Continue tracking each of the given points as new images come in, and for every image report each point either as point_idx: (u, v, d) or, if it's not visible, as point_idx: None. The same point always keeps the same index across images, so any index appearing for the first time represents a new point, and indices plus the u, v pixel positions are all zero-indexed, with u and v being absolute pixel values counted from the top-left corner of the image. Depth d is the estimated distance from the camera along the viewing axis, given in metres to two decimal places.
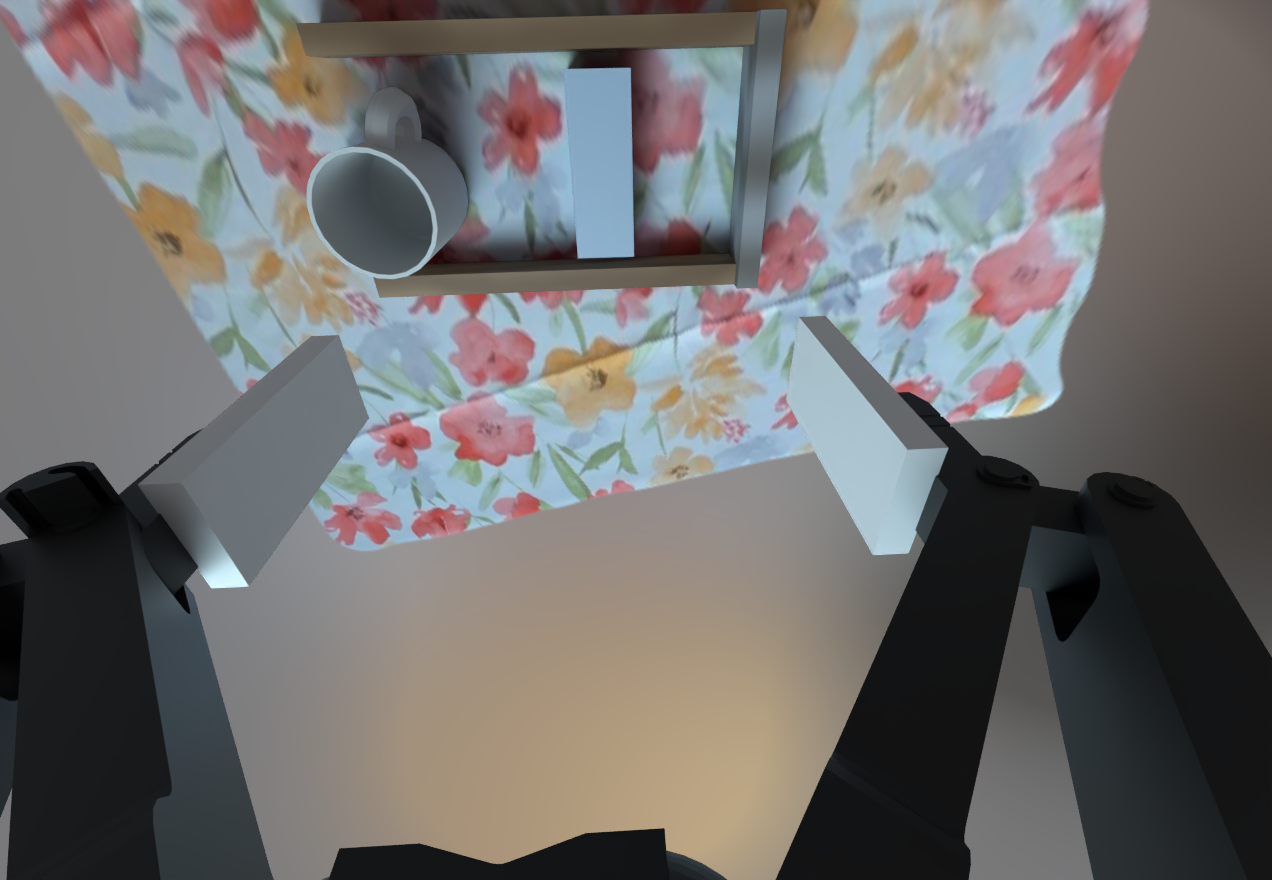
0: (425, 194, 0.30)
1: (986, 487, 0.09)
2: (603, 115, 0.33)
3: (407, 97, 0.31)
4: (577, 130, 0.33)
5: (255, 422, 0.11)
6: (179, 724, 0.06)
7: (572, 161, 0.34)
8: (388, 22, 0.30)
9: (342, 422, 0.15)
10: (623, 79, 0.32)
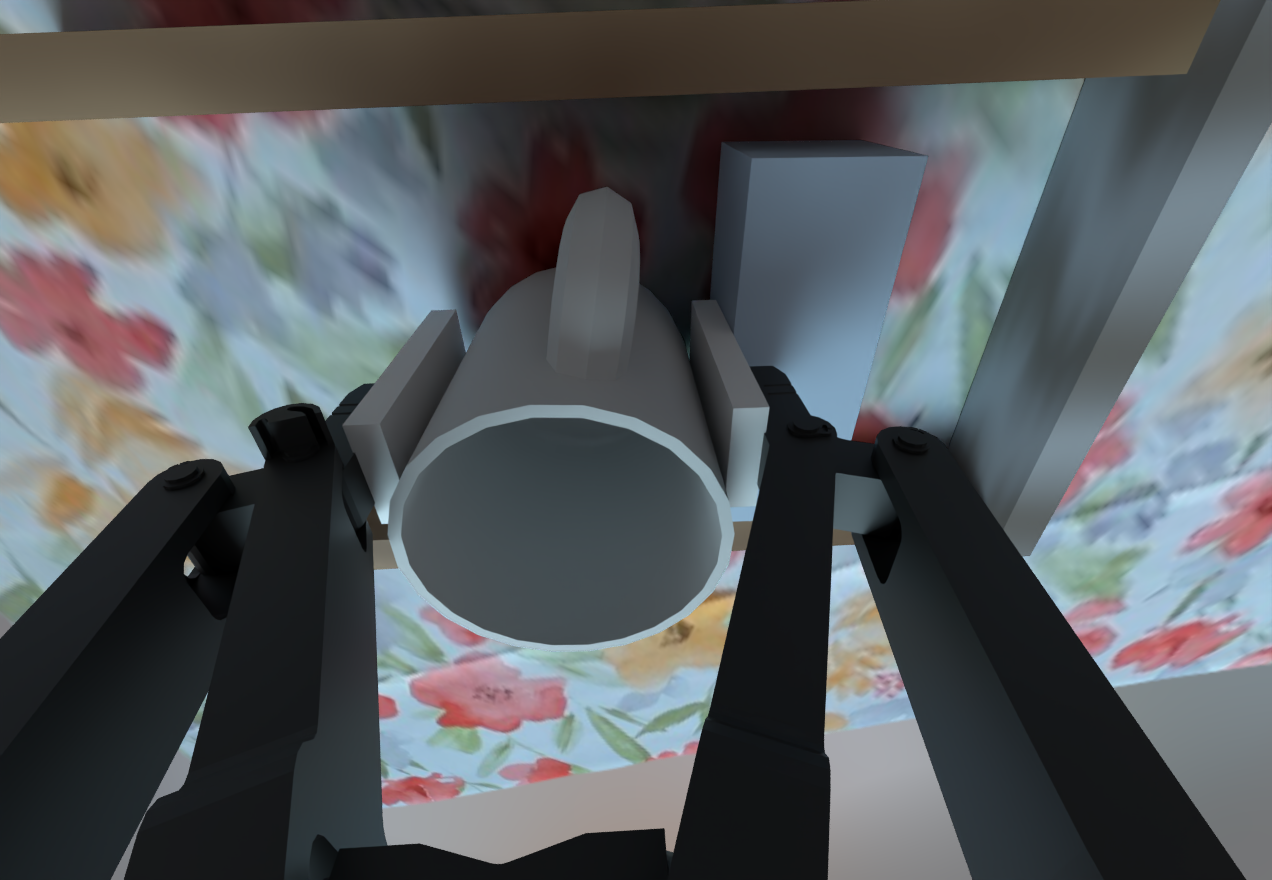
0: (720, 499, 0.11)
1: (797, 441, 0.10)
2: (829, 264, 0.13)
3: None
4: (759, 295, 0.13)
5: (414, 379, 0.13)
6: (336, 664, 0.07)
7: None
8: (196, 30, 0.11)
9: None
10: (901, 184, 0.12)
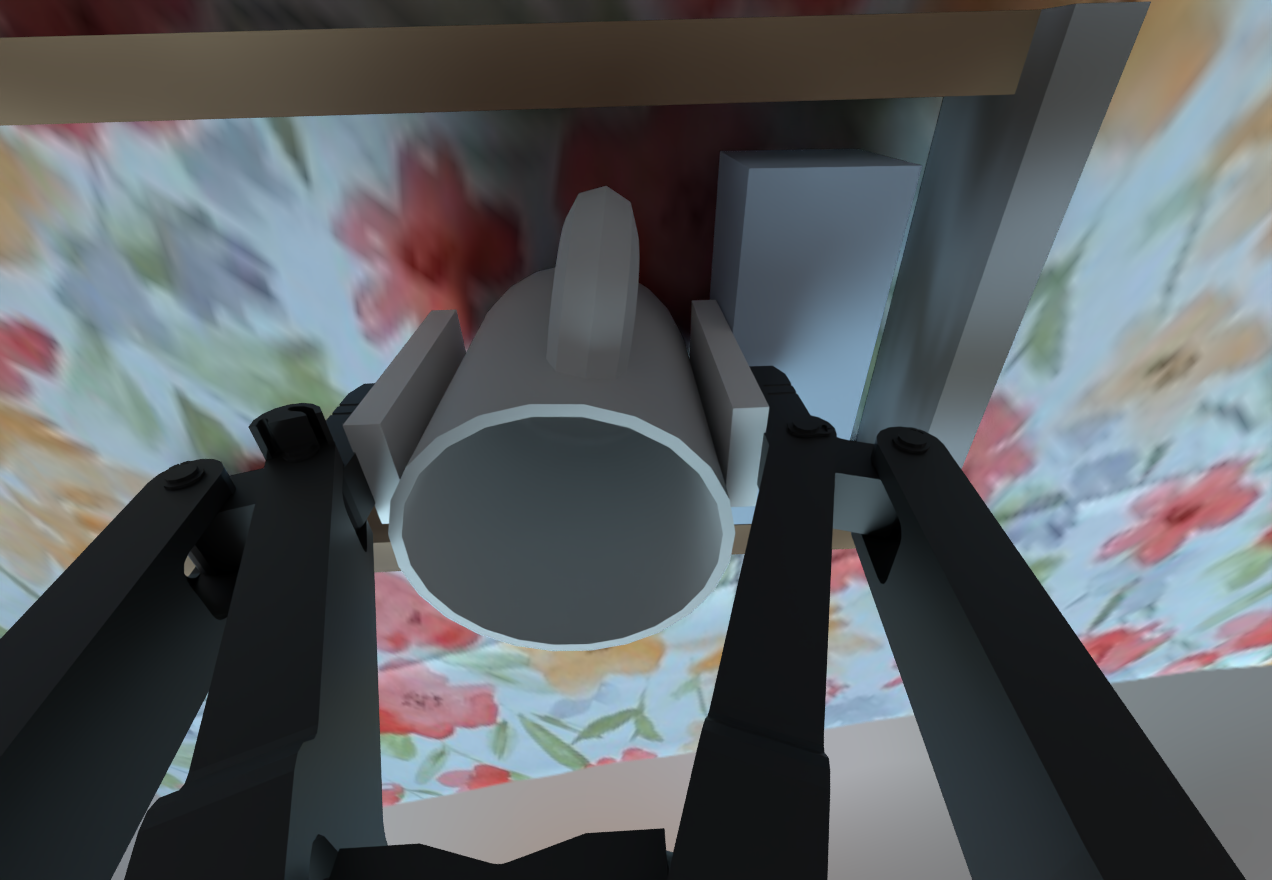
0: (721, 498, 0.11)
1: (796, 441, 0.10)
2: (825, 271, 0.13)
3: None
4: (757, 302, 0.14)
5: (415, 379, 0.13)
6: (337, 664, 0.07)
7: None
8: (13, 41, 0.11)
9: None
10: (896, 193, 0.12)
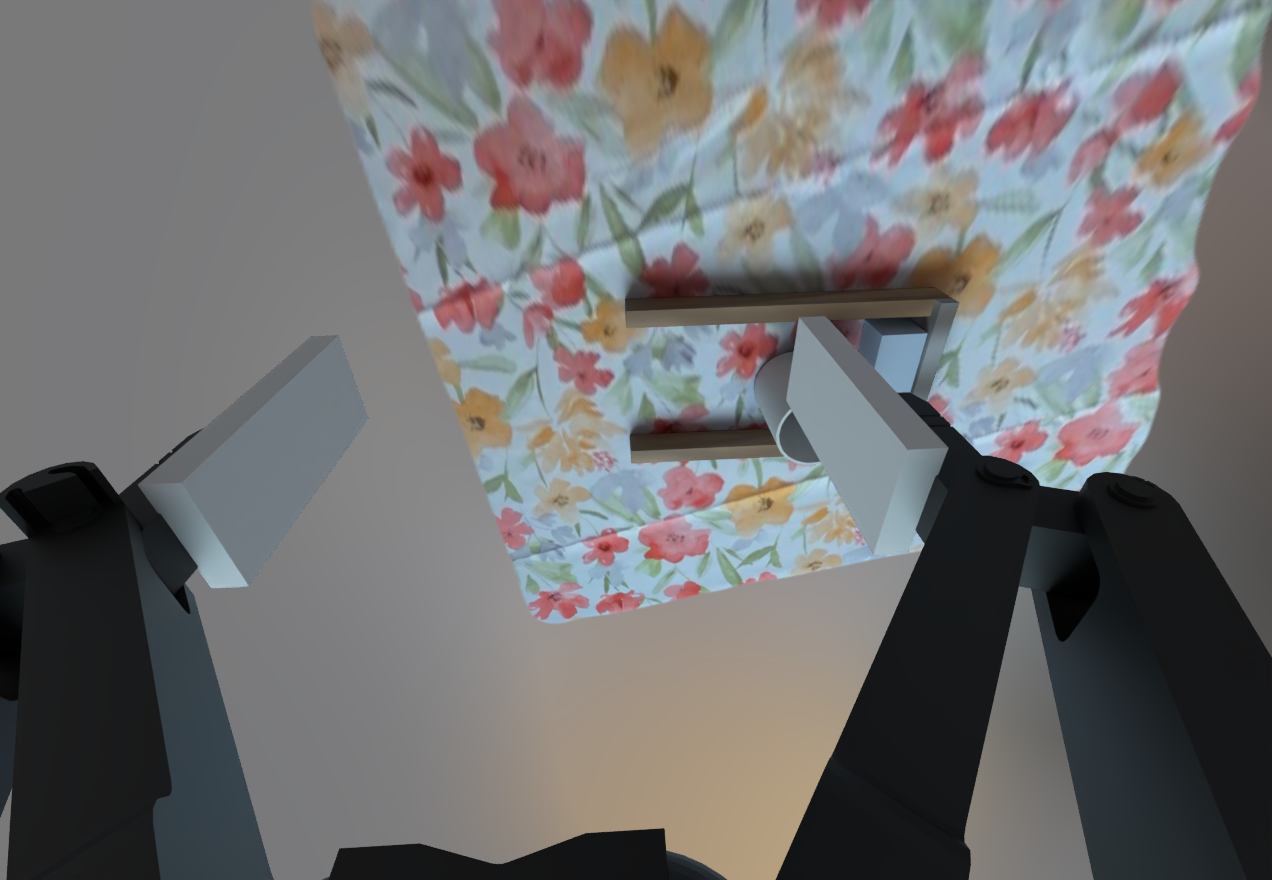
0: None
1: (986, 487, 0.09)
2: None
3: None
4: None
5: (255, 422, 0.11)
6: (181, 724, 0.06)
7: (912, 382, 0.49)
8: (687, 309, 0.45)
9: (342, 422, 0.15)
10: None
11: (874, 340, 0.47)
